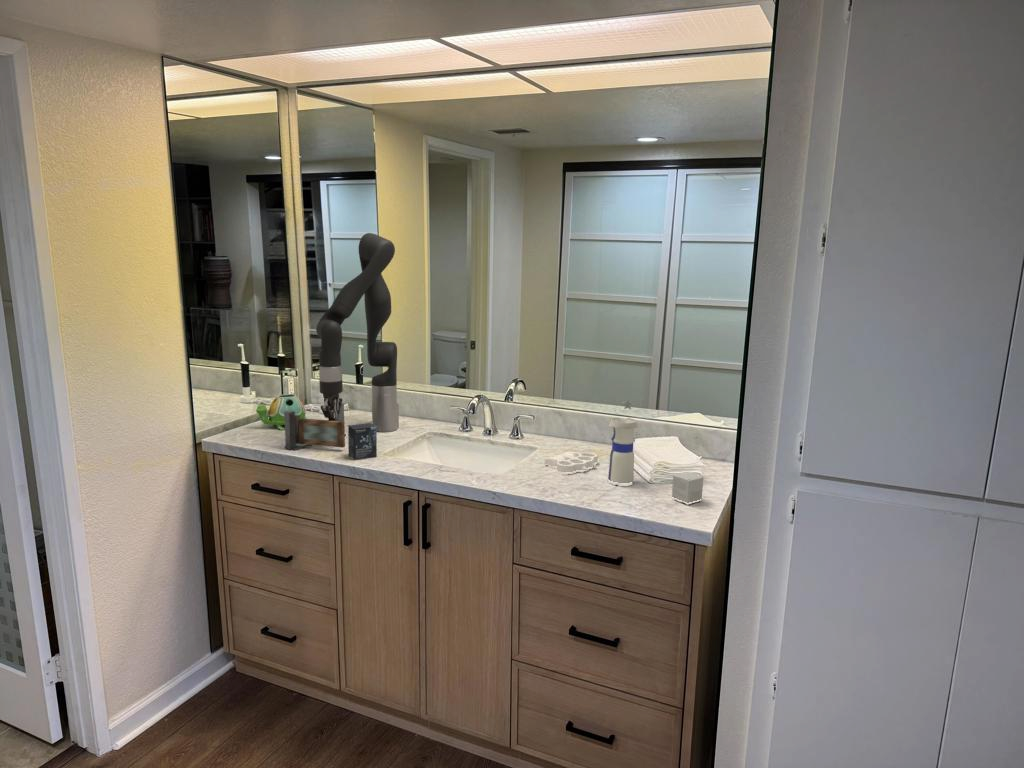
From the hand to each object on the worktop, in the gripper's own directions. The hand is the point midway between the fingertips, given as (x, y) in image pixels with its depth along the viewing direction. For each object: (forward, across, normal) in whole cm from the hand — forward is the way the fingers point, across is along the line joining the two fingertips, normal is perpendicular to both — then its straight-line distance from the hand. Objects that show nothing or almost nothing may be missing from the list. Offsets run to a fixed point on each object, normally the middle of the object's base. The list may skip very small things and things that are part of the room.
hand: (332, 428), depth 240 cm
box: (+7, -8, -14) cm, 17 cm away
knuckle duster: (+8, -2, -83) cm, 83 cm away
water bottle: (+7, -14, -98) cm, 99 cm away
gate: (+5, -3, +4) cm, 7 cm away
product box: (+7, -26, -116) cm, 119 cm away
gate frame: (+7, +4, +8) cm, 11 cm away
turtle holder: (+7, +21, +29) cm, 37 cm away
